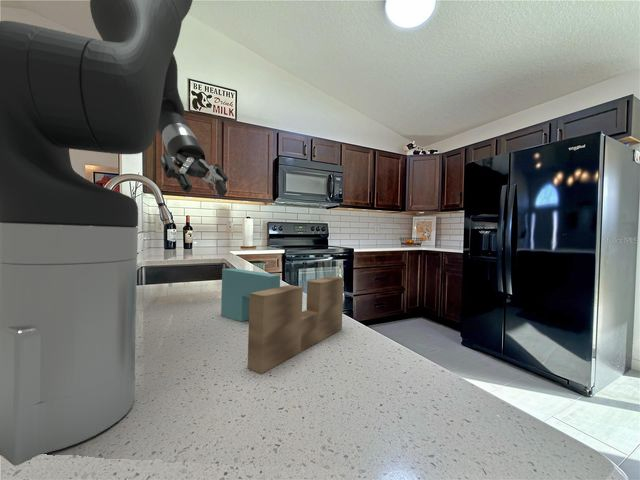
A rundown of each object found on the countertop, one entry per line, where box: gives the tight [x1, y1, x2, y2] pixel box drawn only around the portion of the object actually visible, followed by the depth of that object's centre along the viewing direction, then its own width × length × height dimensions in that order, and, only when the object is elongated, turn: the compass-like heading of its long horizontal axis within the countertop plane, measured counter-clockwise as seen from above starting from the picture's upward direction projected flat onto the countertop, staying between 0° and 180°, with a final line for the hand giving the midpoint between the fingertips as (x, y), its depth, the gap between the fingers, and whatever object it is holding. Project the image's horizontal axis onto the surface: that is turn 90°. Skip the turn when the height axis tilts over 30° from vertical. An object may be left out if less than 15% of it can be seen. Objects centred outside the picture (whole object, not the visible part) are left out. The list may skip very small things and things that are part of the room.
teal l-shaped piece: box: [220, 267, 281, 322], centre depth 53 cm, size 14×2×10 cm, turn 56°
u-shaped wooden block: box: [247, 275, 344, 375], centre depth 42 cm, size 20×2×10 cm, turn 146°
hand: (207, 192), depth 62 cm, fingers open, 8 cm apart
